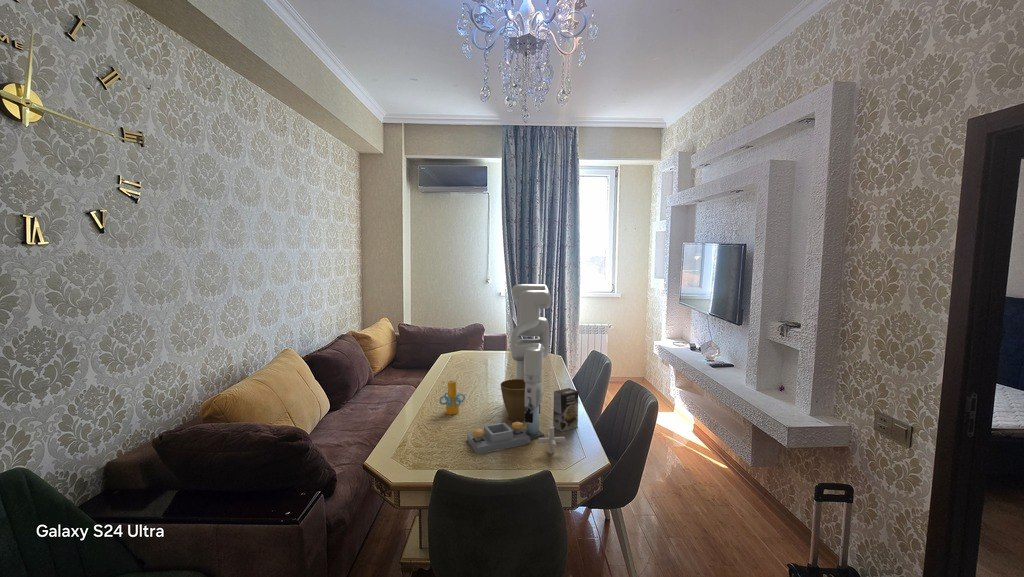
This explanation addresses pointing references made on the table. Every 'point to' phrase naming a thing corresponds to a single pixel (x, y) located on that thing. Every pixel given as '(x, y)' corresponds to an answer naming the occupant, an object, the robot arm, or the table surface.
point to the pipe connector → (551, 440)
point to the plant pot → (514, 398)
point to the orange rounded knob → (478, 435)
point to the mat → (534, 435)
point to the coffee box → (565, 409)
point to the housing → (498, 438)
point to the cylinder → (452, 399)
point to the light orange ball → (517, 427)
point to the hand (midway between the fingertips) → (532, 417)
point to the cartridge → (534, 422)
